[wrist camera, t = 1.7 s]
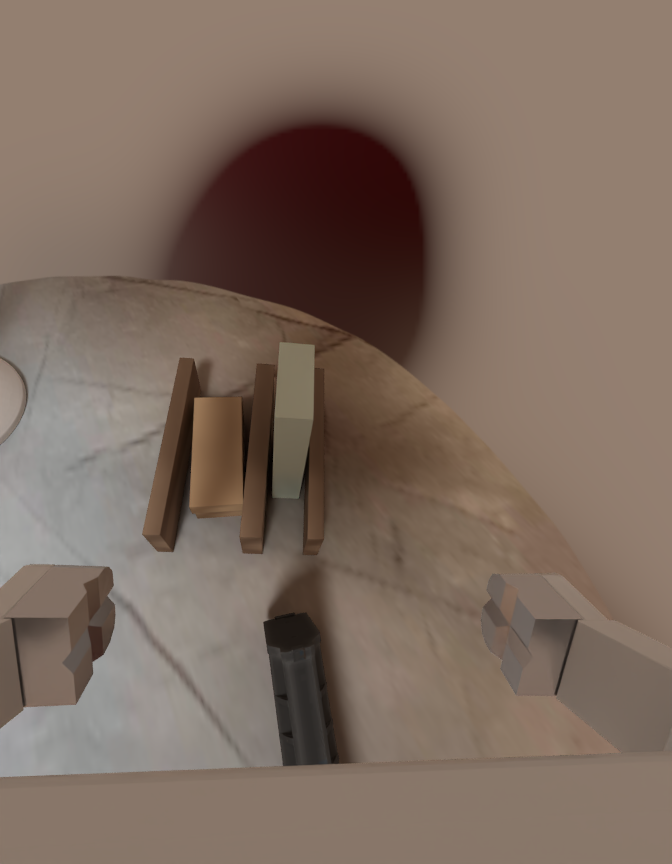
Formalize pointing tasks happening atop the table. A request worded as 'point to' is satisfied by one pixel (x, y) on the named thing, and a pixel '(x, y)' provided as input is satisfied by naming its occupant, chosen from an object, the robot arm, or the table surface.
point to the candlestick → (10, 399)
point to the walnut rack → (177, 455)
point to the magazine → (300, 691)
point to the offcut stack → (217, 457)
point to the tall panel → (292, 417)
